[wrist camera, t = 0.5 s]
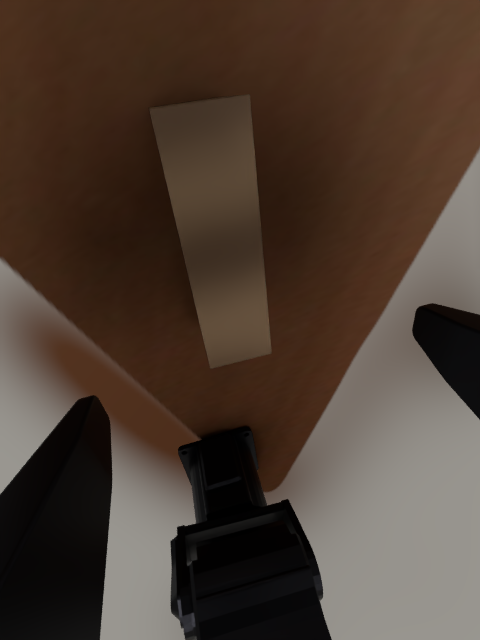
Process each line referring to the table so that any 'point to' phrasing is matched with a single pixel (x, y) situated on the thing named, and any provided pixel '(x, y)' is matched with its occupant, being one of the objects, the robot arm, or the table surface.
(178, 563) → the robot arm
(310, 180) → the table surface
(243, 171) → the brown wooden block
